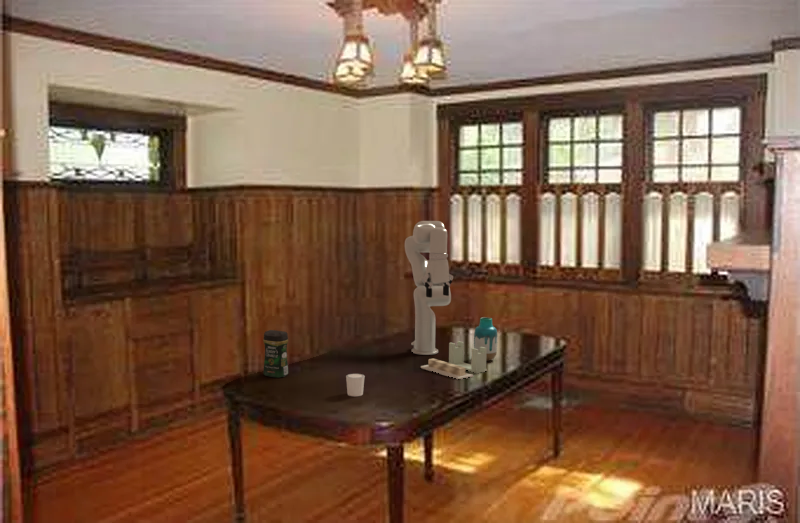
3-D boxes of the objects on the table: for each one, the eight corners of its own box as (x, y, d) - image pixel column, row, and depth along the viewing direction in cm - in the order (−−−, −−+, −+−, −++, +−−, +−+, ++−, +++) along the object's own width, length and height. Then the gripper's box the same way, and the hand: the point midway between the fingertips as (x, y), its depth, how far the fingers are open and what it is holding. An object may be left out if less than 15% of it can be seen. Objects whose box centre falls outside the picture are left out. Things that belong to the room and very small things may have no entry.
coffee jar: (260, 376, 279) (259, 331, 278) (271, 372, 286) (271, 327, 285) (280, 379, 275) (280, 333, 274) (291, 374, 282) (291, 330, 281)
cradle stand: (447, 365, 301) (448, 342, 301) (457, 363, 305) (458, 340, 304) (476, 373, 287) (477, 349, 286) (487, 371, 291) (487, 348, 290)
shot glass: (345, 391, 259) (345, 373, 258) (364, 391, 259) (364, 373, 259) (346, 396, 252) (346, 378, 251) (364, 396, 252) (364, 378, 252)
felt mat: (420, 367, 296) (420, 366, 296) (434, 365, 301) (434, 363, 301) (458, 379, 277) (459, 377, 277) (473, 376, 282) (473, 374, 282)
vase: (496, 363, 305) (497, 320, 303) (472, 362, 307) (473, 319, 306) (497, 358, 316) (498, 316, 314) (474, 356, 318) (475, 315, 316)
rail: (428, 366, 296) (428, 359, 296) (433, 365, 298) (433, 358, 297) (460, 375, 280) (460, 368, 280) (465, 374, 282) (465, 367, 282)
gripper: (447, 255, 305) (446, 293, 307) (417, 257, 295) (416, 296, 296) (458, 256, 299) (458, 295, 301) (428, 258, 289) (427, 299, 290)
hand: (437, 296), depth 299 cm, fingers open, 9 cm apart
